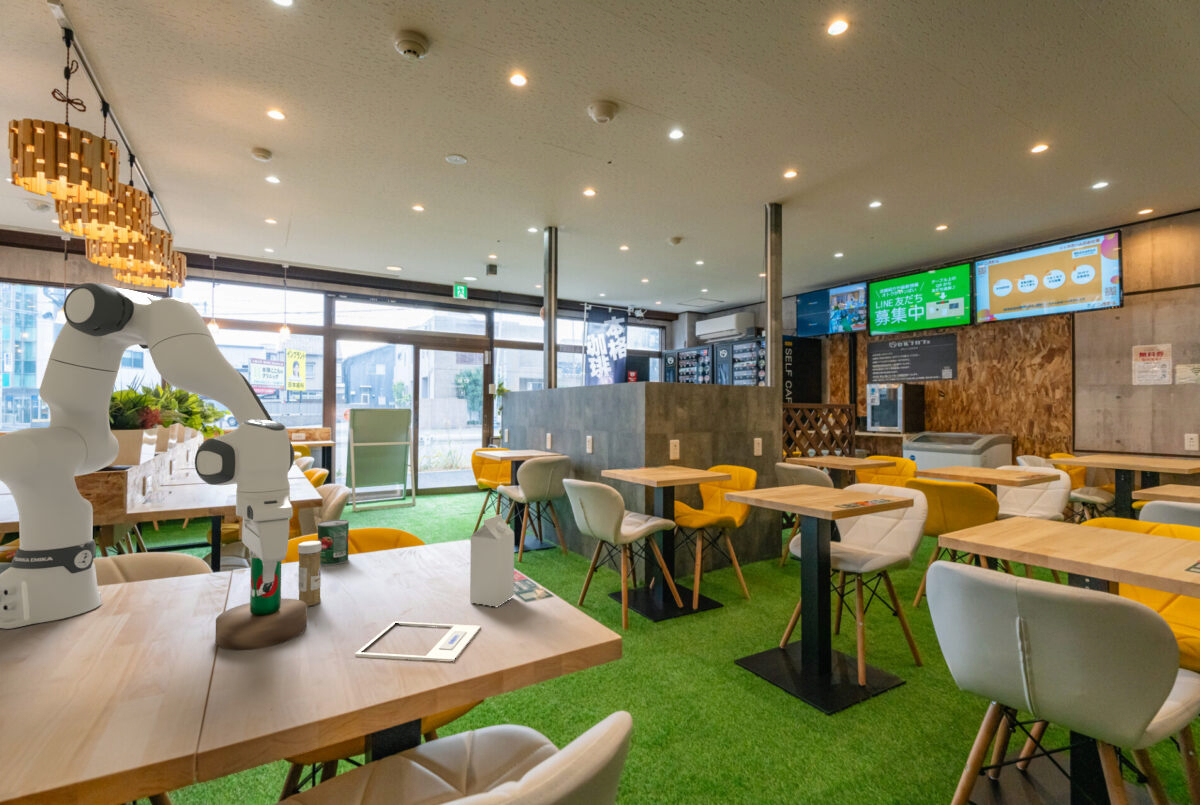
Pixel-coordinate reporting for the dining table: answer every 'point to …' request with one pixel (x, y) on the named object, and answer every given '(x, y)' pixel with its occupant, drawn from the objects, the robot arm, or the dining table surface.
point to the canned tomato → (333, 541)
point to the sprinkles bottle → (309, 572)
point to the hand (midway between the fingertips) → (262, 575)
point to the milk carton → (492, 563)
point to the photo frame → (443, 649)
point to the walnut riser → (260, 626)
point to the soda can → (264, 590)
